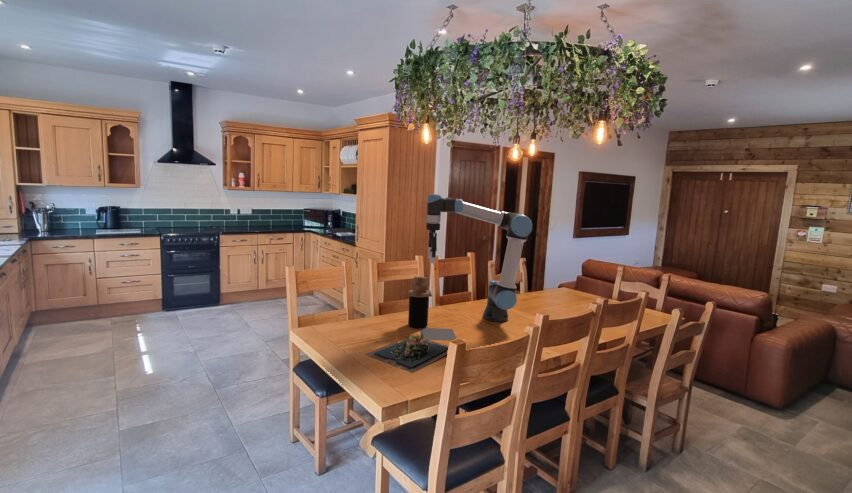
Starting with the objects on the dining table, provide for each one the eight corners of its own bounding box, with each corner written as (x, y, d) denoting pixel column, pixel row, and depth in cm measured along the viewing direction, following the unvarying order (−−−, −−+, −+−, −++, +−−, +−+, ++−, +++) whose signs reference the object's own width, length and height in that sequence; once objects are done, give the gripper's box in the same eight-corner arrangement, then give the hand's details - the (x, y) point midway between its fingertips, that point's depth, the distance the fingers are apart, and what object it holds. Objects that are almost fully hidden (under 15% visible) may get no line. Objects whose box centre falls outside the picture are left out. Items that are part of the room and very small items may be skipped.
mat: (452, 330, 241) (452, 329, 241) (456, 342, 224) (457, 340, 224) (419, 328, 240) (419, 327, 240) (421, 340, 222) (421, 339, 222)
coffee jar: (428, 324, 248) (429, 292, 246) (426, 329, 237) (427, 296, 236) (409, 323, 249) (410, 291, 247) (406, 328, 238) (408, 295, 237)
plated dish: (411, 334, 228) (412, 321, 227) (457, 349, 212) (458, 335, 211) (364, 355, 200) (364, 340, 199) (413, 375, 184) (414, 358, 183)
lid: (430, 292, 247) (430, 276, 246) (431, 296, 235) (432, 279, 234) (408, 291, 246) (409, 275, 245) (409, 296, 234) (409, 278, 233)
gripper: (424, 220, 254) (423, 256, 257) (428, 224, 229) (427, 265, 233) (437, 220, 255) (435, 257, 258) (443, 225, 230) (441, 265, 233)
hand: (431, 260), depth 245 cm, fingers open, 13 cm apart
